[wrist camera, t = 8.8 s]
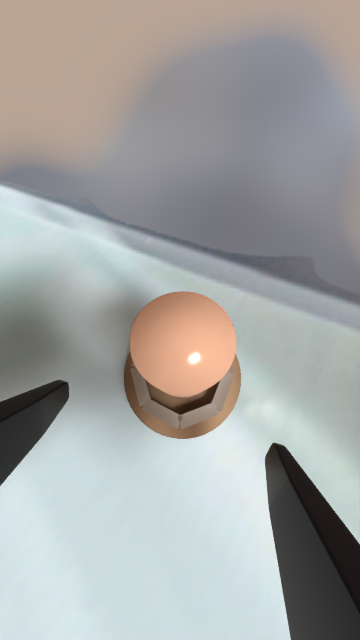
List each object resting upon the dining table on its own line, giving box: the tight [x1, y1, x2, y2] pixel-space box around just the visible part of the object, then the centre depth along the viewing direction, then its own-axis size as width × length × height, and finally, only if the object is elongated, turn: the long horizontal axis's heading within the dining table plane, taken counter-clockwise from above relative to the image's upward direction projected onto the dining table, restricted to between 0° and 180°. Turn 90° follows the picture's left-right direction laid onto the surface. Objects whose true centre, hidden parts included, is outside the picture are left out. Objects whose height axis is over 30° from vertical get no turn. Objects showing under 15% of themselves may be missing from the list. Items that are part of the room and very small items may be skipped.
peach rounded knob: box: [129, 292, 236, 399], centre depth 14 cm, size 5×5×10 cm
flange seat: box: [124, 353, 241, 439], centre depth 18 cm, size 11×11×2 cm
